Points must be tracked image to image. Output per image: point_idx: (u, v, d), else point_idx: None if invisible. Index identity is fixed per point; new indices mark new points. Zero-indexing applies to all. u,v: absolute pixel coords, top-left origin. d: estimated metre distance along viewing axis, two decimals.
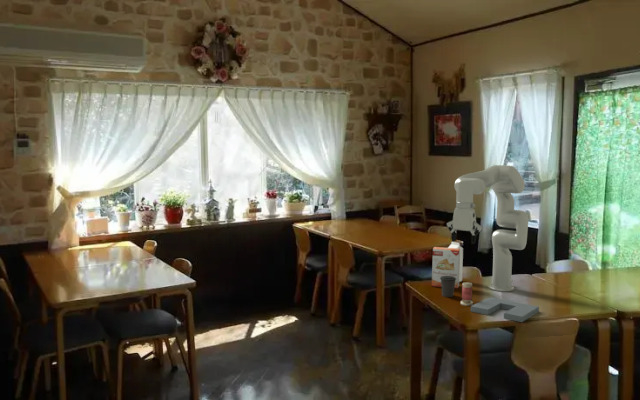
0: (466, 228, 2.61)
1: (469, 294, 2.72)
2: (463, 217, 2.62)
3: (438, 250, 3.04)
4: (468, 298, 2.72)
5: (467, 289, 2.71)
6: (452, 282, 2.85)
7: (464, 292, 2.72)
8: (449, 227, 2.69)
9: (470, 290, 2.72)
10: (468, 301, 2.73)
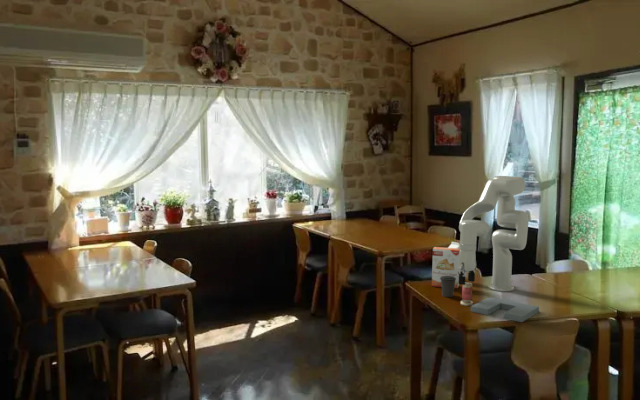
0: (473, 268, 2.73)
1: (469, 294, 2.72)
2: (473, 258, 2.71)
3: (438, 250, 3.04)
4: (468, 298, 2.72)
5: (467, 289, 2.71)
6: (452, 282, 2.85)
7: (464, 292, 2.72)
8: (462, 272, 2.67)
9: (470, 290, 2.72)
10: (468, 301, 2.73)
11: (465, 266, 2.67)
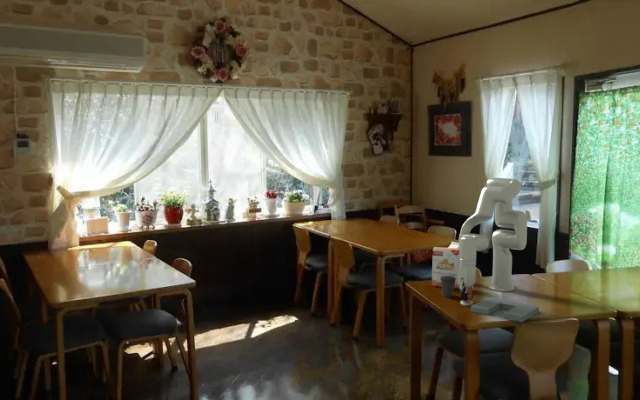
0: (473, 282, 2.74)
1: (469, 294, 2.72)
2: (473, 273, 2.72)
3: (438, 250, 3.04)
4: (468, 298, 2.72)
5: (467, 289, 2.71)
6: (452, 282, 2.85)
7: None
8: (464, 288, 2.69)
9: (470, 290, 2.72)
10: (468, 301, 2.73)
11: (465, 284, 2.69)
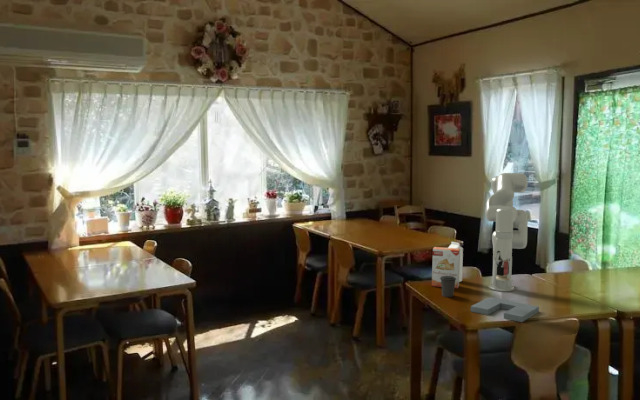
0: (509, 256, 2.61)
1: (506, 269, 2.59)
2: (509, 246, 2.59)
3: (438, 250, 3.04)
4: (504, 273, 2.59)
5: None
6: (452, 282, 2.85)
7: None
8: (500, 262, 2.56)
9: (506, 264, 2.59)
10: (504, 276, 2.59)
11: (502, 257, 2.56)
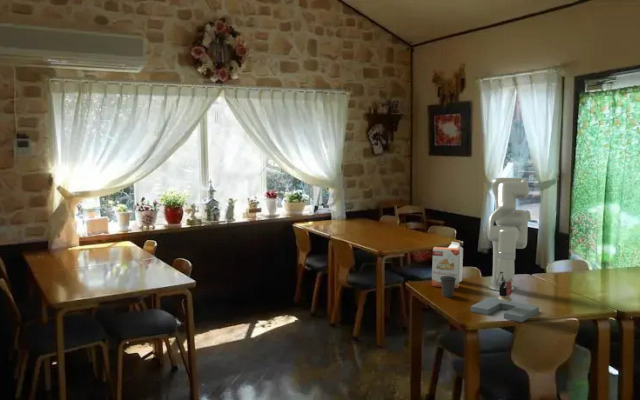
0: (512, 277, 2.61)
1: (508, 289, 2.59)
2: (512, 267, 2.59)
3: (438, 250, 3.04)
4: (507, 293, 2.59)
5: (506, 284, 2.58)
6: (452, 282, 2.85)
7: None
8: (503, 283, 2.56)
9: (509, 285, 2.59)
10: (507, 296, 2.59)
11: (504, 278, 2.56)
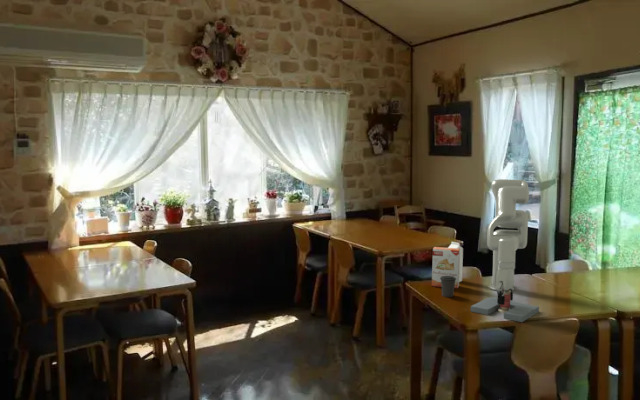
0: (512, 286, 2.61)
1: (508, 301, 2.60)
2: (511, 276, 2.59)
3: (438, 250, 3.04)
4: (506, 305, 2.60)
5: (506, 296, 2.59)
6: (452, 282, 2.85)
7: None
8: (501, 291, 2.55)
9: (509, 297, 2.60)
10: (506, 309, 2.60)
11: (504, 285, 2.56)
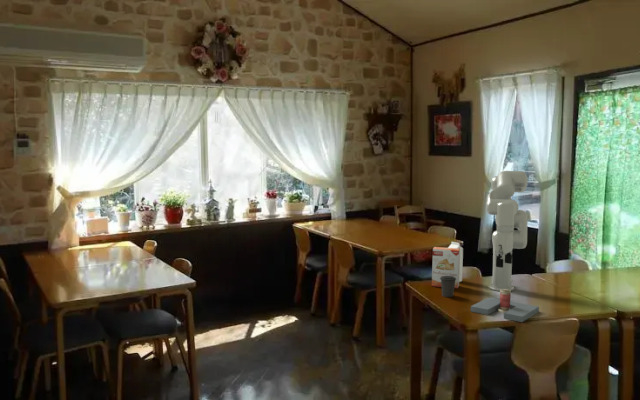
0: (510, 249, 2.62)
1: (508, 301, 2.60)
2: (510, 239, 2.60)
3: (438, 250, 3.04)
4: (506, 305, 2.60)
5: (506, 296, 2.59)
6: (452, 282, 2.85)
7: (502, 299, 2.60)
8: (499, 254, 2.56)
9: (509, 297, 2.60)
10: (506, 309, 2.60)
11: (503, 248, 2.57)
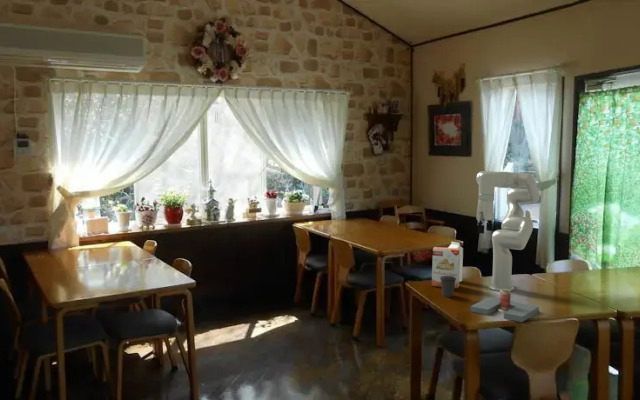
0: (491, 217, 2.82)
1: (508, 301, 2.60)
2: (491, 208, 2.80)
3: (438, 250, 3.04)
4: (506, 305, 2.60)
5: (505, 296, 2.59)
6: (452, 282, 2.85)
7: (502, 299, 2.60)
8: (481, 220, 2.76)
9: (509, 297, 2.60)
10: (506, 309, 2.60)
11: (484, 215, 2.77)
